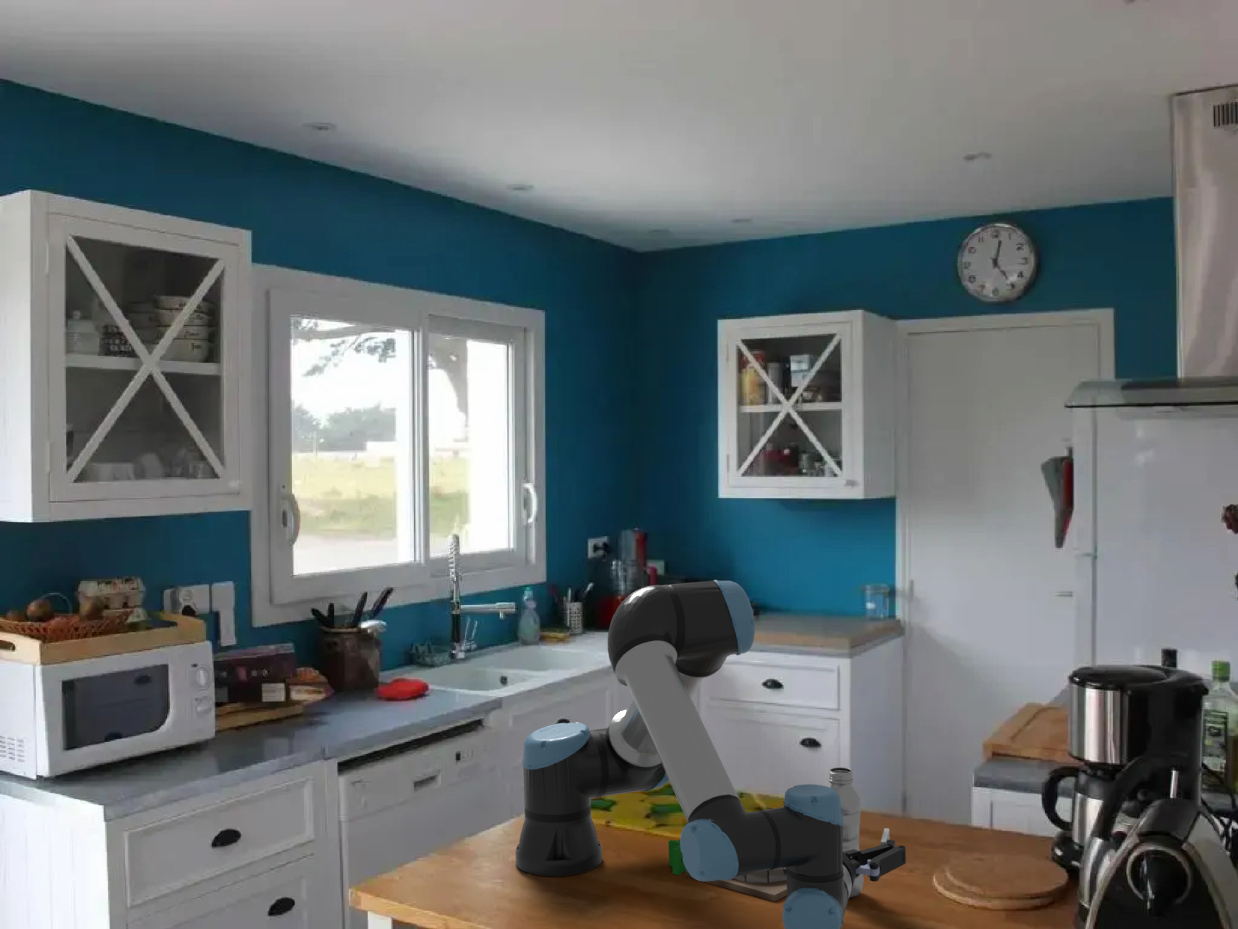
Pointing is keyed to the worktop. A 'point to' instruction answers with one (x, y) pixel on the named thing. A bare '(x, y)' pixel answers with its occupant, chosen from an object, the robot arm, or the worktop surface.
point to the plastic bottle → (848, 814)
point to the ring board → (757, 884)
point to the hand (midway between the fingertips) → (842, 834)
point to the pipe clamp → (676, 857)
